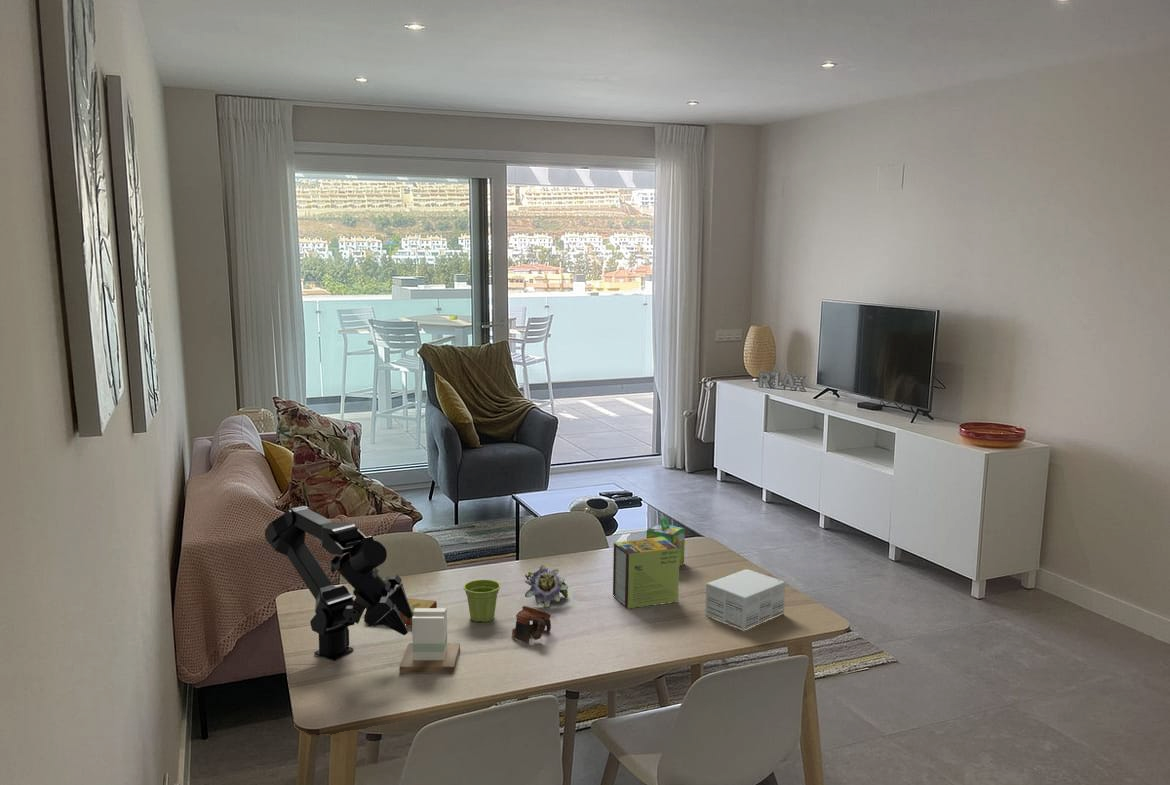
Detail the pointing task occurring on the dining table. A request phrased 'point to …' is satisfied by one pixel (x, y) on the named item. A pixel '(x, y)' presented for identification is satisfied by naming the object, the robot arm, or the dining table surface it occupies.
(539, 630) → the brown blocky piece
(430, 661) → the plinth
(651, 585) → the protein box
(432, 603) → the carton
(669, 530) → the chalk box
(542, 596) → the passion flower
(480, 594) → the plant pot
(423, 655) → the oat carton
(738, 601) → the supplement box
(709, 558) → the dining table surface
